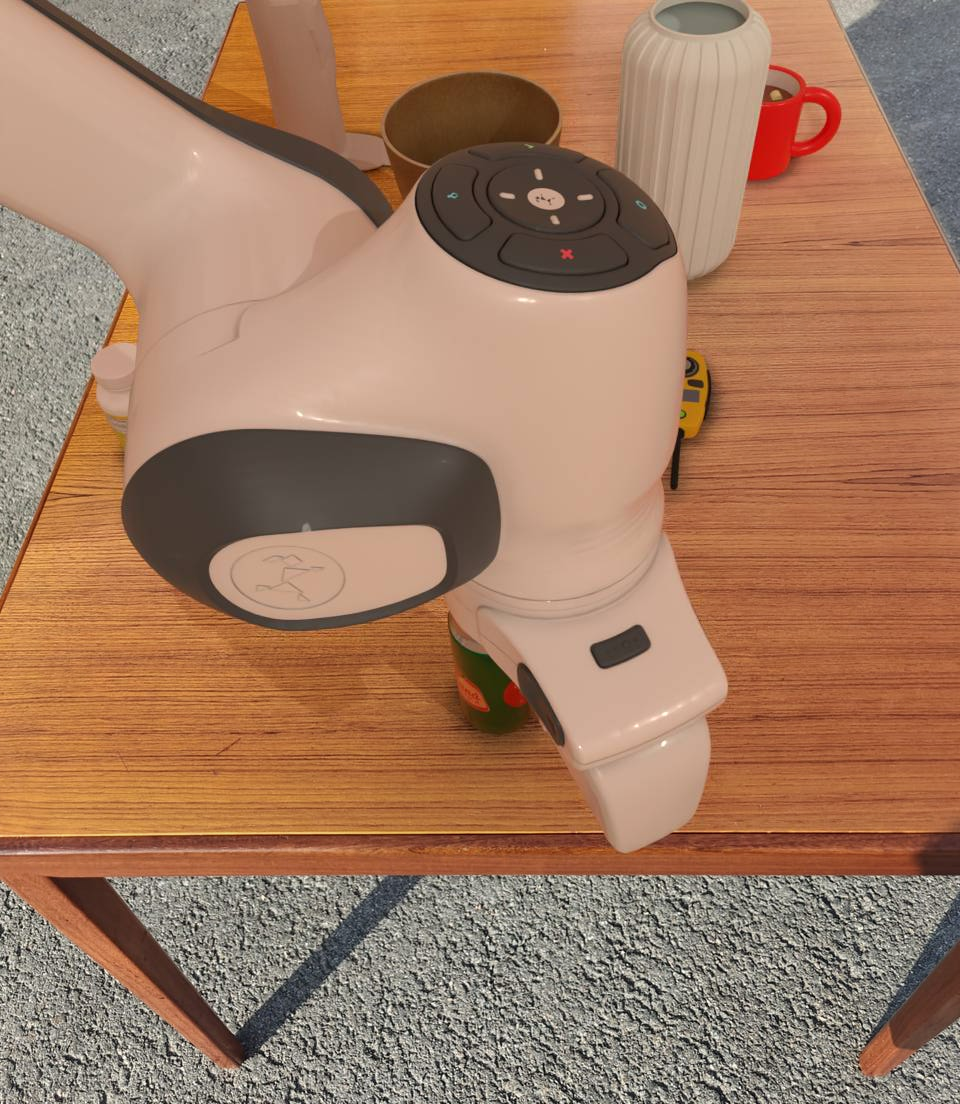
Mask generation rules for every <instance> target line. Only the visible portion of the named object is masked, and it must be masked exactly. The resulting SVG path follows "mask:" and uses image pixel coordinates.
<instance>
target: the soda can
mask: <svg viewBox="0 0 960 1104" xmlns="http://www.w3.org/2000/svg"><path fill="white" fill-rule="evenodd" d="M446 621H447V629H448V635H449V641H450V648H451V654H452V660H453V666H454V667H453V668H454V673H455V678H456V686H457V691H458V698H459V704H460V710H461V713H462V715H463V716H464V719H465V720H466V721H467V723H468V724H470V725H471V727H473V728H475V729H476V730H478V731H479V732H481V733H484V734H488V735H494V736H503V735H508V734H512V733H514V732H517V731H518V730H521V728H524V726H525V725H526V724H527V723H529V721H530V720H531V719H532V717H533V715H534V712H533V710H532V708H531V706H530V705H529V703H528V701H527V700H526V698H525V697H524V695H523V694H522V692H521V690H520V689H519V688H518V686H517V685H516V684H515V683H514V682H513V681H512V680H511V678H510V677H509V676H508V675H507V674H506V673H505V672H504V671H503V670H502V669H501V668H500V667H499V666H498V665H497V664H496V663H495V662H494V660H493V659H492V658H491V657H490V656H489V654H488V653H487V652H486V650H485V649H484V647H483V646H482V645H481V644H479V643H478V642H477V641H475V640H474V639H473V638H472V637H470V636H469V635H468V634H467V633H466V632H465V631H464V630H463V629H462V628H461V627H460V626H459V624H458V623H457V622H456V620H455V619H454V618H453V616H452V614H451V612H450V611H449V610H448V613H447V620H446Z"/></svg>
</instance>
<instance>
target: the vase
mask: <svg viewBox="0 0 960 1104" xmlns="http://www.w3.org/2000/svg"><path fill="white" fill-rule="evenodd" d="M772 42H773V40H772V35H771V31H770V29H769V27H768V25H767V23H766V21H765V19H764V17H763V16H762V15H761V14H760V13H759V12H758V10H755V9H754V8H753V7H752V5H750V4H749V3H748V2H747V1H746V0H656V1H655V2H653V3H652V4H650V5H649V6H647V7H646V8H644V9H643V10H642V11H641V12H640V13H639V14H638V15H637V16H636V17H635V18H634V20H633V21H632V23H630V25H629V26H628V29H627V31H626V32H625V35H624V40H623V45H622V48H621V49H622V50H621V61H620V62H621V63H620V79H619V92H618V93H619V95H618V107H617V108H618V109H617V123H616V124H617V125H616V139H615V140H616V141H615V152H614V153H615V154H614V167H613V168H614V169H615V170H617V171H619V172H621V173H623V174H624V175H625V176H626V177H628V178H629V179H630V180H632V181H633V182H634V183H635V184H637V185H638V186H639V187H640V188H641V189H642V190H643V191H644V192H645V193H646V194H647V195H648V196H649V197H650V198H651V199H652V200H653V201H654V203H655V204H656V205H657V206H658V208H659V209H660V210H661V212H662V213H663V215H664V216H665V218H666V219H667V221H668V223H669V224H670V226H671V228H672V230H673V231H674V233H675V235H676V238H677V240H678V242H679V245H680V248H681V251H682V255H683V259H684V264H685V270H686V278H687V282H689V281H692V280H694V279H699V278H701V277H704V276H705V275H708V274H710V273H712V272H713V271H715V270H716V269H717V268H719V267H720V265H722V264H723V263H724V262H725V261H726V260H727V259H728V258H729V256H730V254H731V251H732V250H733V248H734V246H735V242H736V239H737V234H738V228H739V222H740V218H741V213H742V207H743V203H744V198H745V191H746V187H747V181H748V180H747V177H748V172H749V167H750V162H751V156H752V151H753V146H754V141H755V136H756V131H757V126H758V120H759V115H760V110H761V105H762V100H763V95H764V90H765V84H766V79H767V74H768V69H769V65H771V64H770V63H771V58H772V50H773V49H772V48H773V45H772V44H773V43H772Z"/></svg>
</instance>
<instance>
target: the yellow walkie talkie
mask: <svg viewBox="0 0 960 1104" xmlns="http://www.w3.org/2000/svg"><path fill="white" fill-rule="evenodd" d="M711 398H712V377H711V373H710V370H709V369H708V368H707V363H706V361H705V358H704V356H703V354H702V353H700V352H698V351H694V350H689V349H687V355H686V368H685V380H684V389H683V398H682V406H681V414H680V421H679V428H678V435H677V439H676V443H675V447H674V451H673V454H672V456H671V470H670V482H669V487H670V490H671V491H676V490H677V489H678V486H679V475H680V474H679V473H680V461H681V460H680V459H681V449H682V448H681V446H682V439H693V438H695V437H696V436H697V434H698V433H699V431H700V428H701V426H702V424H703V421H705V420H706V418H707V416H708V412H709V409H710V403H711Z"/></svg>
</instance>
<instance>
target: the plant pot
mask: <svg viewBox="0 0 960 1104" xmlns="http://www.w3.org/2000/svg"><path fill="white" fill-rule="evenodd" d="M563 122H564V111H563V108H562V105H561V103H560V101H559V99H558V98H557V97H556V96H555V94H554V93H552V91H551V90H549V89H548V87H546V86H544V85H542V83H540V82H537V81H536V80H533V79H531V78H529V77H526V76H523V75H522V74H521V75H520V74H516V73H513V72H509V71H508V72H507V71H502V70H496V69H495V70H492V69H469V70H459V71H451V72H447V73H443V74H438V75H435V76H432V77H430V78H427V79H424V80H422V81H419V82H417V83H415V84H413V85H411V86H410V87H408V88H406V89H405V90H403V91H401V92H400V93H399V94H398V95H396V96H395V97H394V99H393V100H391V101H390V102H389V104H388V105H387V106H386V108H385V109H384V111H383V113H382V116H381V119H380V134H381V137H382V139H383V141H384V145H385V148H386V151H387V154H388V158H389V161H390V164H391V166H390V167H391V170H392V173H393V177H394V179H395V182H396V185H397V188H398V191H399V193H400V196H401V199H402V202H403V201H404V200H405V198H406V197H407V196H408V194H409V193H410V191H411V190H412V188H413V186H414V185H415V183H416V182H417V181H418V179H419V178H420V176H421V175H422V174H423V173H424V172H425V171H426V170H427V169H428V168H429V167H430V166H432V165H433V164H434V163H435V162H437V161H438V160H440V159H442V158H444V157H445V156H447V155H449V154H452V153H454V152H457V151H459V150H462V149H466V148H469V147H473V146H478V145H484V144H491V143H503V142H531V143H541V144H548V145H553V146H558V147H560V141H561V136H562V129H563Z"/></svg>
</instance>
